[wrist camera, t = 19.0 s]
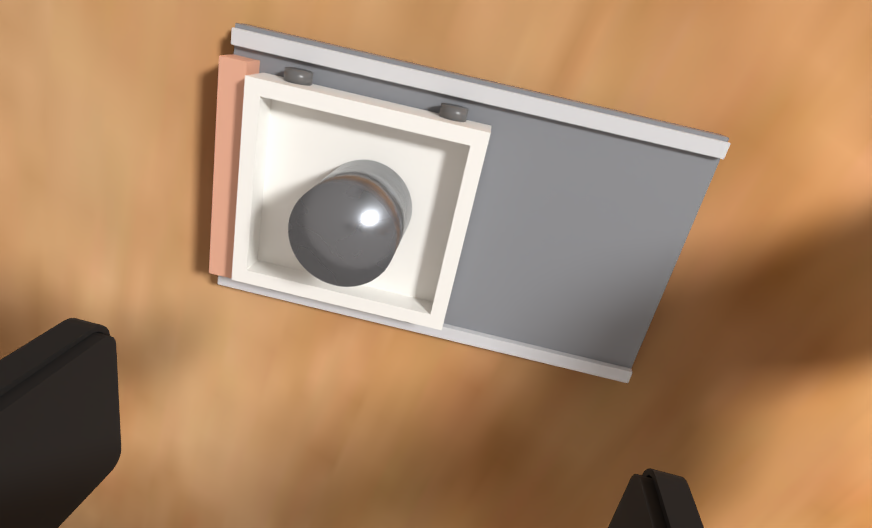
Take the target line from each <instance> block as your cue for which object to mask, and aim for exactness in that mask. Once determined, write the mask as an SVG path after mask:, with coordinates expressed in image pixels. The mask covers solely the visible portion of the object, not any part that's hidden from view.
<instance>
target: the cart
mask: <svg viewBox="0 0 872 528" xmlns="http://www.w3.org/2000/svg"><path fill="white" fill-rule="evenodd" d="M312 81H313V72H312V71H309V70H305V69H301V68H295V67H285V69H284V77H281V76H277V75H272V74H268V73H258V74H251V75H245V84H244V99H243V114H242V129H241V144H240V160H239V175H238V190H237V205H236V220H235V235H234V250H233V266H232V280H235V281H239V282H243V283H247V284H252V285H256V286H260V287H264V288H268V289H271V290H276V291H281V292H285V293H289V294H293V295H297V296H301V297H305V298H310V299H314V300H318V301H322V302H326V303H330V304H334V305H339V306H343V307H347V308H351V309H355V310H359V311H363V312H368V313H372V314H376V315H380V316H384V317H388V318H392V319H397V320H401V321H404V322H407V323H413V324H417V325H421V326H426V327H430V328H434V329H438V330H442V327H443V323H444V319H445V315H446V311H447V307H448V303H449V299H450V295H451V291H452V287H453V283H454V279H455V275H456V271H457V267H458V263H459V259H460V255H461V251H462V247H463V243H464V239H465V235H466V231H467V227H468V222H469V218H470V214H471V210H472V206H473V202H474V198H475V194H476V190H477V186H478V182H479V178H480V174H481V170H482V166H483V162H484V158H485V154H486V150H487V146H488V142H489V138H490V134H491V125H486V124H482V123H478V122H473V121H469V120H467V115H468V111H469V109H468V108H466V107H463V106H459V105H455V104H450V103H441V107H440V112H439V113H435V112H431V111H426V110H422V109H418V108H414V107H409V106H405V105H401V104H396V103H392V102H388V101H384V100H379V99H375V98H371V97H367V96H362V95H358V94H354V93H349V92H345V91H341V90H337V89H332V88H328V87H324V86H320V85H315V84H312ZM361 159H363V160H373V161H376V162H380V163H382V164H384V165H386V166H388V167H389V168H391V169H392V170H394V171H395V172H396V173H397V174H398V175H399V176H400V177H401V178H402V180H403V181H404V182H405V184H406V186H407V188H408V190H409V193H410V196H411V200H412V216H411V220H410V223H409V225H408V227H407V229H406V232H405V234H404V236H403V238H402V240H401V242H400V244H399V246H398V248H397V250H396V252H395V254H394V256H393V258H392V260H391V262H390V264H389V265H388V267H387V268H386V270H385V271H384V272H383V273H382V274H381V275H380V276H379V277H377V278H376V279H374V280H373V281H371V282H368V283H366V284H363V285H359V286H354V287H341V286H335V285H332V284H328V283H326V282H324V281H321V280H319V279H318V278H316V277H314V276H313V275H312V274H310V273H309V272H308V271H307V270H306V269H305V268H304V267H303V266H302V265H301V264H300V262H299V261H298V259H297V258H296V256H295V254H294V252H293V250H292V248H291V245H290V241H289V236H288V223H289V218H290V215H291V212H292V210H293V208H294V206H295V204H296V203H297V201H298V200H299V199H300V198H301V197H302V196H303V195H304V194H305V193H306V192H308V191H309V190H310V189H311V188H313V187H314V186H315V185H316V184H318V183H319V182H320V181H321V180H323V179H324V178H325V177H326V176H328V175H329V174H330V173H331V172H333V171H334V170H335V169H336V168H338V167H339V166H341V165H342V164H344V163H347V162H349V161H354V160H361Z"/></svg>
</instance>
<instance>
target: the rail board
mask: <svg viewBox="0 0 872 528" xmlns="http://www.w3.org/2000/svg"><path fill="white" fill-rule="evenodd" d="M231 44H232V45H234V54H232V55H219V70H218V91H217V113H216V134H215V155H214V176H213V197H212V219H211V240H210V261H209V273H211V274H215V275H218V284H219V285H223V286H227V287H231V288H235V289H240V290H244V291H248V292H252V293H256V294H260V295H264V296H269V297H273V298H277V299H281V300H285V301H289V302H293V303H297V304H302V305H306V306H310V307H314V308H318V309H322V310H326V311H331V312H335V313H339V314H343V315H347V316H351V317H355V318H360V319H364V320H368V321H372V322H376V323H380V324H384V325H389V326H393V327H397V328H401V329H405V330H409V331H413V332H418V333H422V334H426V335H430V336H434V337H438V338H442V339H446V340H451V341H455V342H459V343H463V344H467V345H471V346H475V347H480V348H484V349H488V350H492V351H496V352H500V353H504V354H509V355H513V356H517V357H521V358H525V359H529V360H533V361H538V362H542V363H546V364H550V365H554V366H558V367H562V368H567V369H571V370H575V371H579V372H583V373H587V374H591V375H595V376H600V377H604V378H608V379H612V380H616V381H620V382H624V383H628V382H629V380H630V377H631V375H632V373H633V372H632V370H631V368H632V365H633V363H634V361H635V358H636V356H637V354H638V351H639V349H640V347H641V344H642V342H643V340H644V337H645V335H646V333H647V330H648V328H649V325H650V323H651V321H652V318H653V316H654V314H655V311H656V309H657V307H658V304H659V302H660V300H661V297H662V295H663V292H664V290H665V288H666V285H667V283H668V281H669V278H670V276H671V274H672V271H673V269H674V267H675V264H676V262H677V260H678V257H679V255H680V252H681V250H682V248H683V245H684V243H685V241H686V238H687V236H688V234H689V231H690V229H691V227H692V224H693V222H694V219H695V217H696V215H697V212H698V210H699V208H700V205H701V203H702V201H703V198H704V196H705V194H706V191H707V189H708V187H709V184H710V182H711V179H712V177H713V175H714V172H715V170H716V168H717V165H718V163H719V161H720V158H721V159H724V157H725V155H726V153H727V150H728V148H729V146H730V143H729V142H728V139H729V138H728V137H726V136H723V135H721V134H716V133H712V132H708V131H704V130H699V129H695V128H691V127H686V126H682V125H678V124H673V123H669V122H665V121H661V120H656V119H652V118H648V117H643V116H639V115H635V114H630V113H626V112H622V111H617V110H613V109H609V108H605V107H600V106H596V105H592V104H587V103H583V102H579V101H574V100H570V99H566V98H562V97H557V96H553V95H549V94H544V93H540V92H536V91H531V90H527V89H523V88H518V87H514V86H510V85H506V84H501V83H497V82H493V81H488V80H484V79H480V78H475V77H471V76H467V75H463V74H458V73H454V72H450V71H445V70H441V69H437V68H432V67H428V66H424V65H419V64H415V63H411V62H407V61H402V60H398V59H394V58H389V57H385V56H381V55H376V54H372V53H368V52H364V51H359V50H355V49H351V48H346V47H342V46H338V45H333V44H329V43H325V42H320V41H316V40H312V39H308V38H303V37H299V36H295V35H290V34H286V33H282V32H277V31H273V30H269V29H264V28H260V27H256V26H252V25H247V24H239V23H236V25H235V28H234V27H232V33H231ZM285 67H295V68H301V69H305V70H309V71H312V72H313V81H312V84H315V85H320V86H324V87H328V88H332V89H337V90H341V91H345V92H349V93H354V94H358V95H362V96H367V97H371V98H375V99H379V100H384V101H388V102H392V103H396V104H401V105H405V106H409V107H414V108H418V109H422V110H426V111H431V112H435V113H439V112H440V107H441V103H450V104H455V105H459V106H463V107H466V108H468V109H469V111H468V115H467V120H469V121H473V122H478V123H482V124H486V125H491V134H490V138H489V142H488V146H487V150H486V154H485V158H484V162H483V166H482V170H481V174H480V178H479V182H478V186H477V190H476V194H475V198H474V202H473V206H472V210H471V214H470V218H469V222H468V227H467V231H466V235H465V239H464V243H463V247H462V251H461V255H460V259H459V263H458V267H457V271H456V275H455V279H454V283H453V287H452V291H451V295H450V299H449V303H448V307H447V311H446V315H445V319H444V323H443V327H442V330H438V329H434V328H430V327H426V326H421V325H417V324H413V323H407V322H404V321H401V320H397V319H392V318H388V317H384V316H380V315H376V314H372V313H368V312H363V311H359V310H355V309H351V308H347V307H343V306H339V305H334V304H330V303H326V302H322V301H318V300H314V299H310V298H305V297H301V296H297V295H293V294H289V293H285V292H281V291H276V290H271V289H268V288H264V287H260V286H256V285H252V284H247V283H243V282H239V281H235V280H232V266H233V250H234V235H235V220H236V205H237V190H238V175H239V160H240V144H241V129H242V114H243V99H244V84H245V75H251V74H258V73H268V74H272V75H277V76H281V77H284V69H285Z"/></svg>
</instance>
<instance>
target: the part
mask: <svg viewBox="0 0 872 528" xmlns="http://www.w3.org/2000/svg"><path fill="white" fill-rule="evenodd" d="M411 216H412V200H411V196H410V193H409V190H408V188H407V186H406V184H405V182H404V181H403V180H402V178H401V177H400V176H399V175H398V174H397V173H396V172H395V171H394V170H392V169H391V168H389V167H388V166H386V165H384V164H382V163H380V162H376V161H373V160H363V159H361V160H354V161H349V162H347V163H344V164H342V165H341V166H339V167H338V168H336V169H335V170H334V171H333V172H331V173H330V174H329V175H328V176H326V177H325V178H324V179H323V180H321V181H320V182H319V183H318V184H316V185H315V186H314V187H313V188H311V189H310V190H309V191H308V192H306V193H305V194H304V195H303V196H302V197H301V198H300V199H299V200H298V201H297V203H296V204H295V206H294V208H293V210H292V212H291V215H290V218H289V223H288V236H289V241H290V245H291V248H292V250H293V252H294V254H295V256H296V258H297V259H298V261H299V262H300V264H301V265H302V266H303V267H304V268H305V269H306V270H307V271H308V272H309V273H310V274H312V275H313V276H314V277H316V278H318V279H319V280H321V281H324V282H326V283H328V284H332V285H335V286H341V287H354V286H359V285H363V284H366V283H368V282H371V281H373V280H374V279H376V278H377V277H379V276H380V275H381V274H382V273H383V272H384V271H385V270H386V268H387V267H388V265H389V264H390V262H391V260H392V258H393V256H394V254H395V252H396V250H397V248H398V246H399V244H400V242H401V240H402V238H403V236H404V234H405V232H406V229H407V227H408V225H409V223H410V220H411Z"/></svg>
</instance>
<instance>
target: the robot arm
mask: <svg viewBox="0 0 872 528" xmlns="http://www.w3.org/2000/svg"><path fill="white" fill-rule="evenodd" d="M120 454H121V435H120V414H119V394H118V373H117V353H116V341H115V339H114V338H113V337H111V336H110V333H109V330H108V329H107V327H105V326H103V325H99V324H95V323H91V322H88V321H84V320H80V319H76V318H69V319H67V320H65V321H63V322H61V323H60V324H58V325H56V326H55V327H53V328H51V329H50V330H48V331H47V332H45V333H43V334H42V335H40V336H38V337H37V338H35V339H34V340H32V341H30V342H29V343H27V344H26V345H24V346H22V347H21V348H19V349H17V350H16V351H14V352H13V353H11V354H9V355H8V356H6V357H4V358H3V359H1V360H0V528H58V527H59V526H60V525H61V524H62V523H63V522H64V521H65V520H66V519H67V517H68V516H69V515H70V514H71V513H72V512H73V511H74V510H75V509H76V508H77V507H78V506H79V505H80V504H81V503H82V502H83V501H84V500H85V499H86V497H87V496H88V495H89V494H90V493H91V492H92V491H93V490H94V489H95V488H96V487H97V486H98V485H99V484H100V483H101V482H102V481H103V480H104V479H105V477H106V476H107V475H108V474H109V473H110V472H111V471H112V470H113V469H114V467H115V466H116V464H117V462H118V460H119V458H120ZM608 528H704V527H703V524H702V521H701V519H700V516H699V513H698V510H697V508H696V505H695V502H694V499H693V497H692V494H691V491H690V489H689V486H688V484H687V482H686V480H685V479H684V478H683V477H681V476H677V475H673V474H669V473H665V472H662V471H658V470H654V469H647V470H645V471H644V473H643V475H638V474H634V475H633V476H632V478H631V479H630V481H629V484H628V486H627V488H626V490H625V492H624V494H623V497H622V499H621V501H620V503H619V505H618V507H617V510H616V512H615V514H614V516H613V518H612V520H611V523H610V525H609V527H608Z"/></svg>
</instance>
